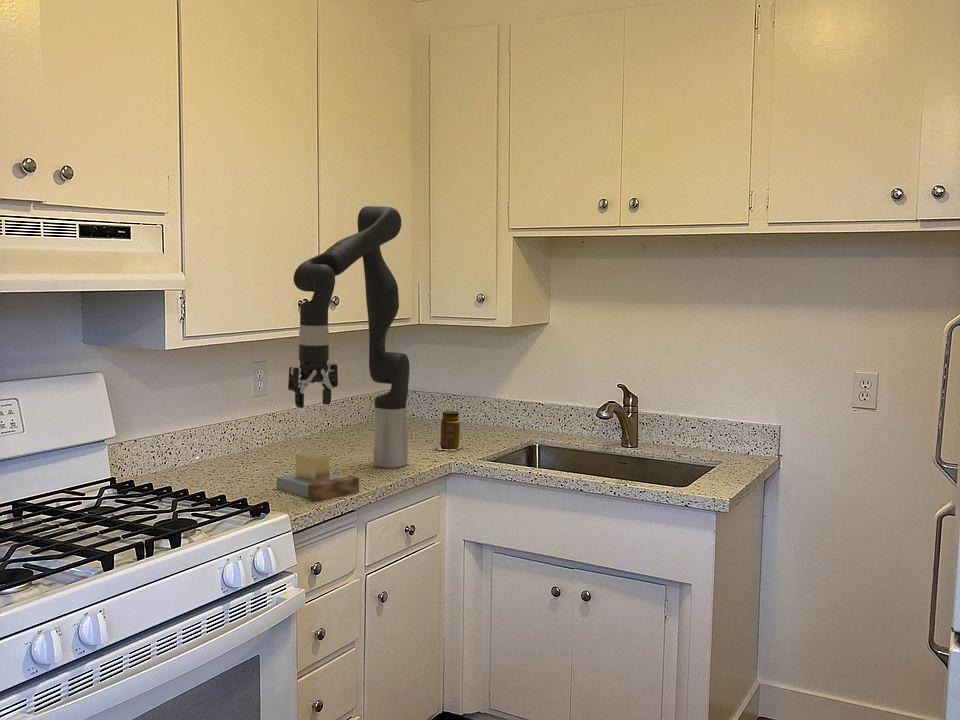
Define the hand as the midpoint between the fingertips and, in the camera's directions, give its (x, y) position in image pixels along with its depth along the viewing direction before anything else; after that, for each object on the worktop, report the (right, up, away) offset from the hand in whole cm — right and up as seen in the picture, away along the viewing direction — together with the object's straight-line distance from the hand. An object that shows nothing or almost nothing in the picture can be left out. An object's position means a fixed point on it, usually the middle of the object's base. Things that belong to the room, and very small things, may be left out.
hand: (313, 405), depth 230 cm
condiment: (+32, -17, +59) cm, 70 cm away
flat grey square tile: (-1, -22, +2) cm, 22 cm away
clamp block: (-1, -19, +2) cm, 19 cm away
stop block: (+6, -23, -4) cm, 24 cm away
